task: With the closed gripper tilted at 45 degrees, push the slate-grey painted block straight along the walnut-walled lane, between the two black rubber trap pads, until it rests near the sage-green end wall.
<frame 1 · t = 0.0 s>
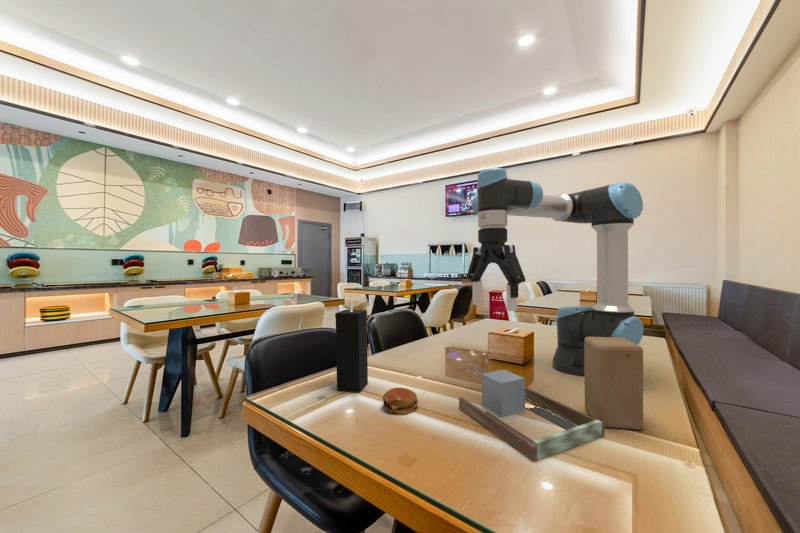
hand: (493, 307, 87), 28 cm above the table, tool pointing down, fingers open, 13 cm apart
burger: (400, 408, 90), on the table
wooden block: (612, 420, 81), on the table
black piece: (352, 387, 105), on the table
slate block: (502, 408, 89), on the table
trap pads: (525, 421, 81), on the table
u-shaped frame: (525, 421, 81), on the table
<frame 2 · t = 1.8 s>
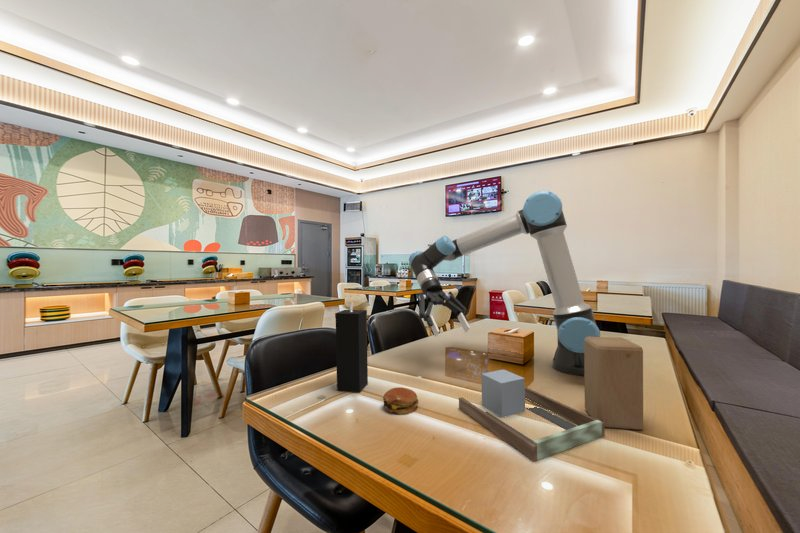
hand: (452, 331, 110), 16 cm above the table, tool tilted 45°, fingers open, 12 cm apart
nothing on the table moved.
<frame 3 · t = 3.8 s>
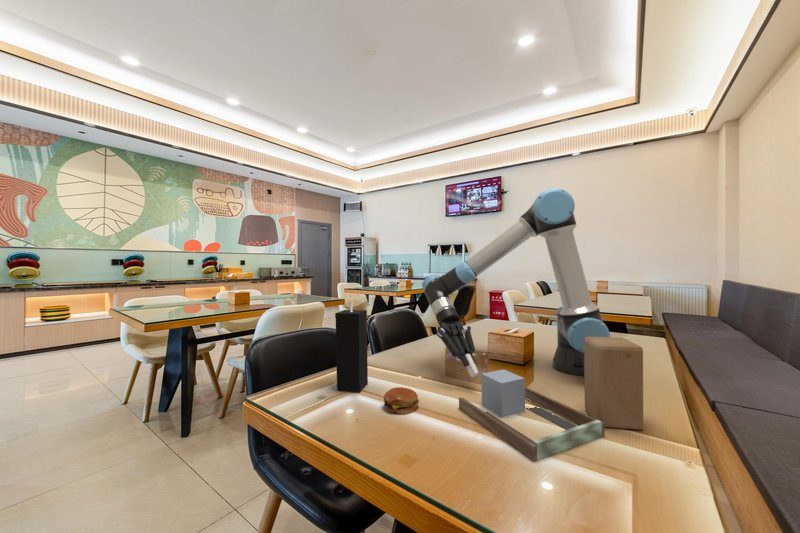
hand: (474, 374, 99), 5 cm above the table, tool tilted 45°, fingers closed
nothing on the table moved.
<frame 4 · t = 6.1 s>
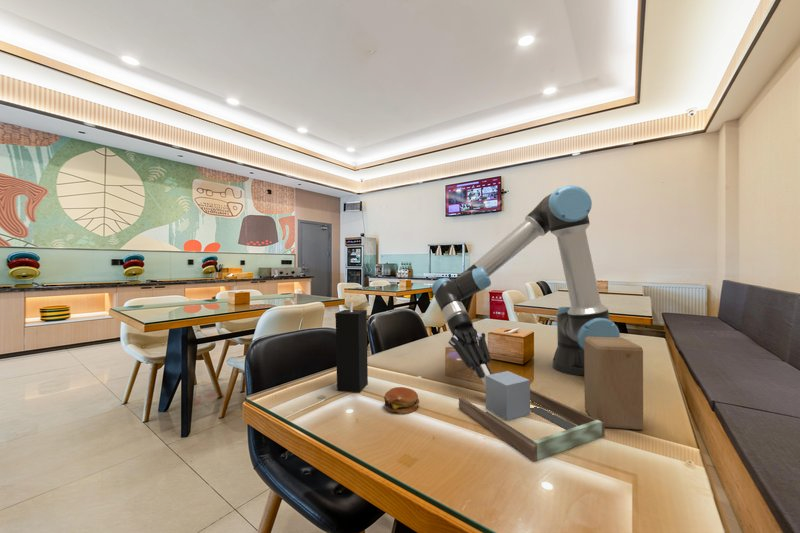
hand: (491, 387, 91), 5 cm above the table, tool tilted 45°, fingers closed
slate block: (507, 411, 87), on the table, touching gripper
everything else where it was.
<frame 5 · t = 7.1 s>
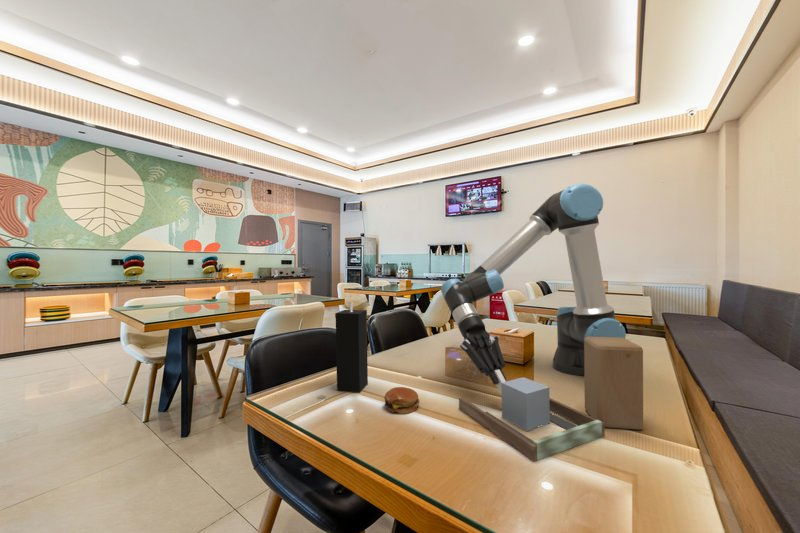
hand: (506, 394, 86), 5 cm above the table, tool tilted 45°, fingers closed
slate block: (525, 420, 82), on the table, touching gripper
everything else where it was.
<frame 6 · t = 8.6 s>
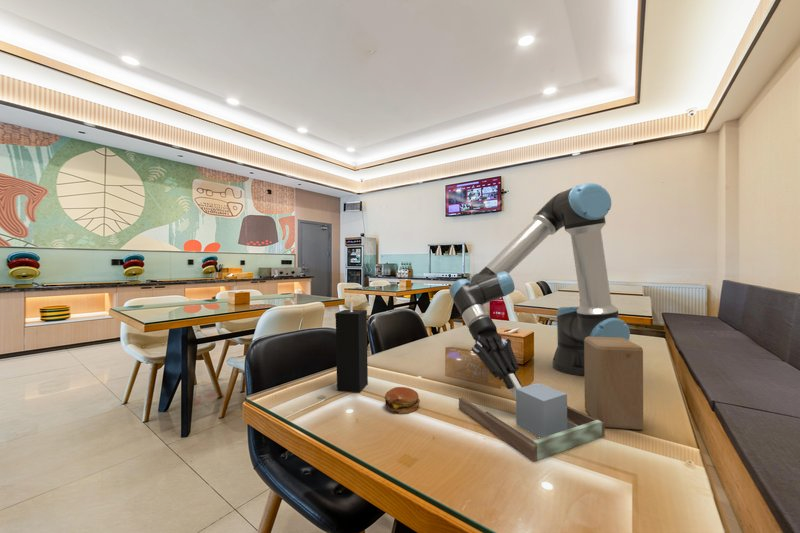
hand: (521, 399, 82), 5 cm above the table, tool tilted 45°, fingers closed
slate block: (541, 428, 78), on the table, touching gripper
everything else where it was.
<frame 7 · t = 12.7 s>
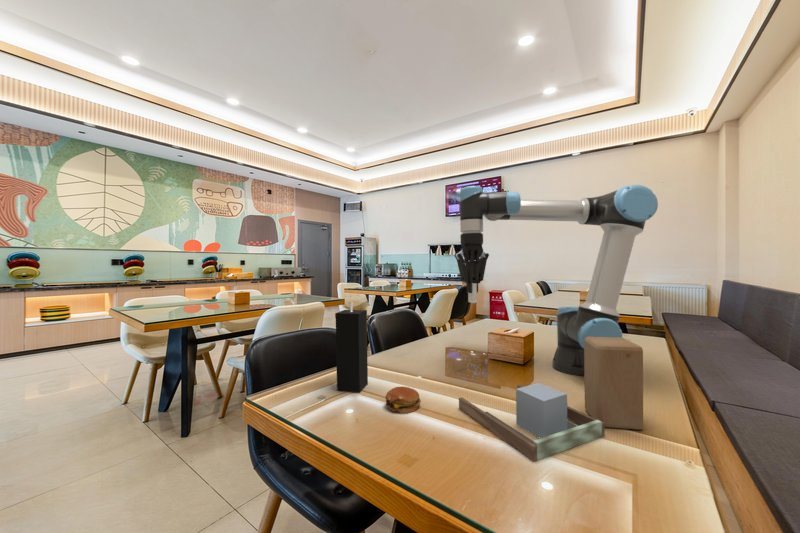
hand: (472, 302, 110), 26 cm above the table, tool pointing down, fingers closed
slate block: (541, 428, 78), on the table
at the end: slate block inside the target area (1.4 cm from its centre), on the table; slate block tilted 0°; slate block moved 12.2 cm from its start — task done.
